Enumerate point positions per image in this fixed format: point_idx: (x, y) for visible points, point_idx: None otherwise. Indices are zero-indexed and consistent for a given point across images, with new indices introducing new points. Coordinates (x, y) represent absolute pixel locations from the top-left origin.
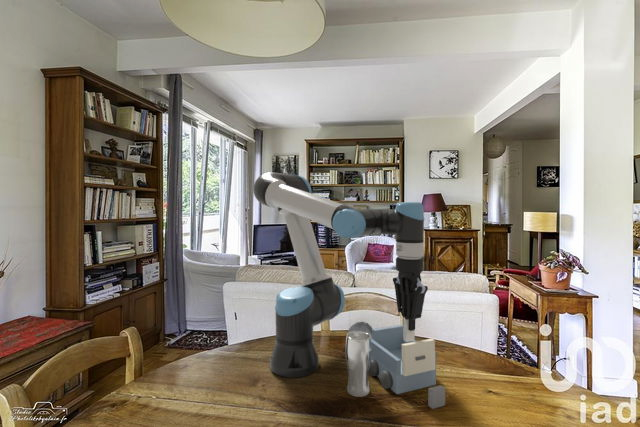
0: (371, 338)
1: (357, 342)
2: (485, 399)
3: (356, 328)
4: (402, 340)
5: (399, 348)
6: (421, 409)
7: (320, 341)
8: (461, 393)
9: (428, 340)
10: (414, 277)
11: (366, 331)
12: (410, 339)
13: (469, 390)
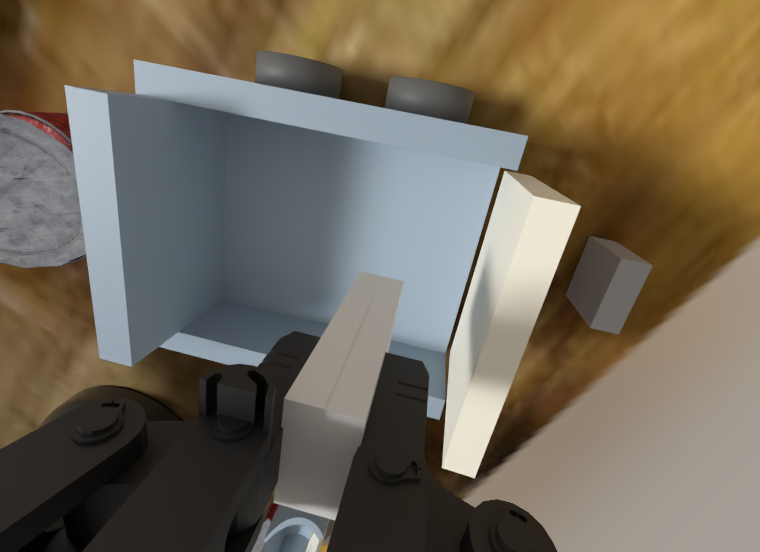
0: (37, 152)
1: None
2: (754, 19)
3: None
4: (195, 114)
5: (223, 139)
6: (560, 331)
7: None
8: (626, 87)
9: (541, 264)
10: None
11: None
12: (394, 323)
13: (647, 17)
